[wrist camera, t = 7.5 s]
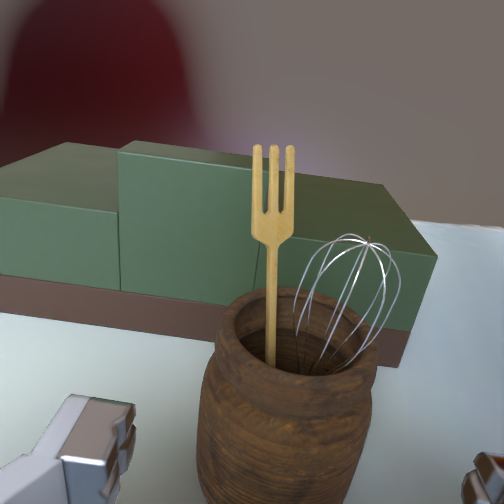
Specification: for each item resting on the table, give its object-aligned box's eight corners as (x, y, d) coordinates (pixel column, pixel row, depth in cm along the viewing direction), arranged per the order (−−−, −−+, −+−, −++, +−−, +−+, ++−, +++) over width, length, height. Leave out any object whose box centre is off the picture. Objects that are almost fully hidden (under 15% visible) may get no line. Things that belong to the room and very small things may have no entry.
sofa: (360, 266, 33) (393, 143, 28) (397, 368, 22) (460, 196, 18) (73, 226, 33) (62, 99, 29) (-28, 308, 22) (-71, 125, 18)
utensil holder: (229, 587, 12) (291, 227, 7) (174, 424, 17) (185, 142, 12) (377, 515, 15) (508, 209, 9) (292, 391, 20) (345, 145, 14)
